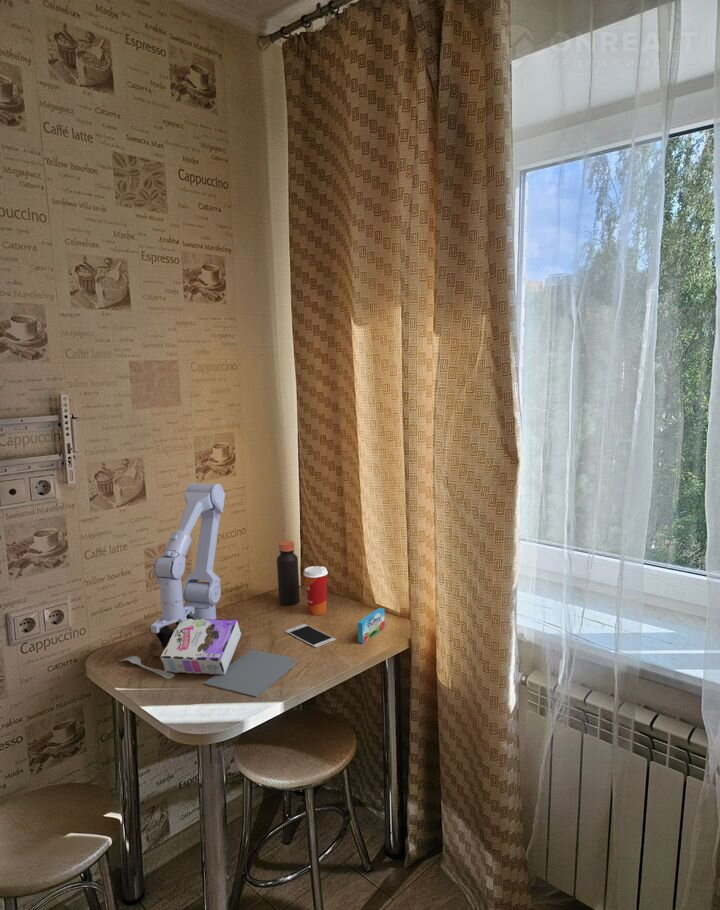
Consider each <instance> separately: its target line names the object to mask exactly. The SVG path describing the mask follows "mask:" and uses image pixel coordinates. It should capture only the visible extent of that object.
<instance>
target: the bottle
mask: <svg viewBox="0 0 720 910" xmlns="http://www.w3.org/2000/svg"><path fill="white" fill-rule="evenodd" d="M278 550H279V555H278V556H277V557H276V569H277V586H278V587H277V588H278V602H279V604H280V605H282V606H294V605H295V606H296V605H297V604H299V603H300V602H301V598H300V595H301V594H300V579H299V578H300V577H299V560H298V558H299V557H298V555H296V554H295V553H294V551H295V542H294V541H291V540H285V541H281V542H279V543H278Z"/></svg>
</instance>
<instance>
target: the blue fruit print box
mask: <svg viewBox="0 0 720 910" xmlns="http://www.w3.org/2000/svg"><path fill="white" fill-rule="evenodd" d="M385 613H386V612H385V608H383V607H379V608H377V609H375V610H374V611H372V612H370V613H369V614H368V615H366V616H365V617H363V618H362V619H360V620H358V621H357V638H358V640H357V642H358V643H359V644H365V643H367V642H369V641H370V639H372V638H374V637H375V636H377V634H380V633H381V632H382V631H383V630H385V628H386V616H385V615H386V614H385ZM373 636H374V637H373ZM366 641H367V642H366Z"/></svg>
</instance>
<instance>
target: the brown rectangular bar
mask: <svg viewBox="0 0 720 910" xmlns="http://www.w3.org/2000/svg"><path fill="white" fill-rule="evenodd" d="M148 644H149V652H150V656H151V655H152V657H154V656H156V657H161V655H162V653H163V651H164V649H163V647H162V644H161V642H160V640H159V638H158V637H157V636H156V637H155V638H153V640H151V641H150V642H149V643H148Z"/></svg>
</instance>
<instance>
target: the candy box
mask: <svg viewBox="0 0 720 910" xmlns="http://www.w3.org/2000/svg"><path fill="white" fill-rule="evenodd" d="M173 630H174V632H173V634H172V636H171V638H170V640H169V642H168V644H167V646H166V648H165V649H164V651H163V653H162V655H161V656H159V659H160V660H161V663H162V665H163V668H164V671H165V672H170V673H173V674H174V673H175V674H176V673H177V674H178V673H179V674H180V673H181V674H193V675H194V674H198V675H203V674H204V675H213V676H214V675H225V673H226V671H227V669H228V666H229V665H230V664H231V661H232V660H233V659H232V658H233V656H234V654H235V651H236V650H237V647H238V643H239V641H240V639H241V636H242V631H241V628H240V625H239V622H238V620H237V619H218V618H216V619H186V620H184V621H179V623H178V625H177V626H176V627H175V629H173Z"/></svg>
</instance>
